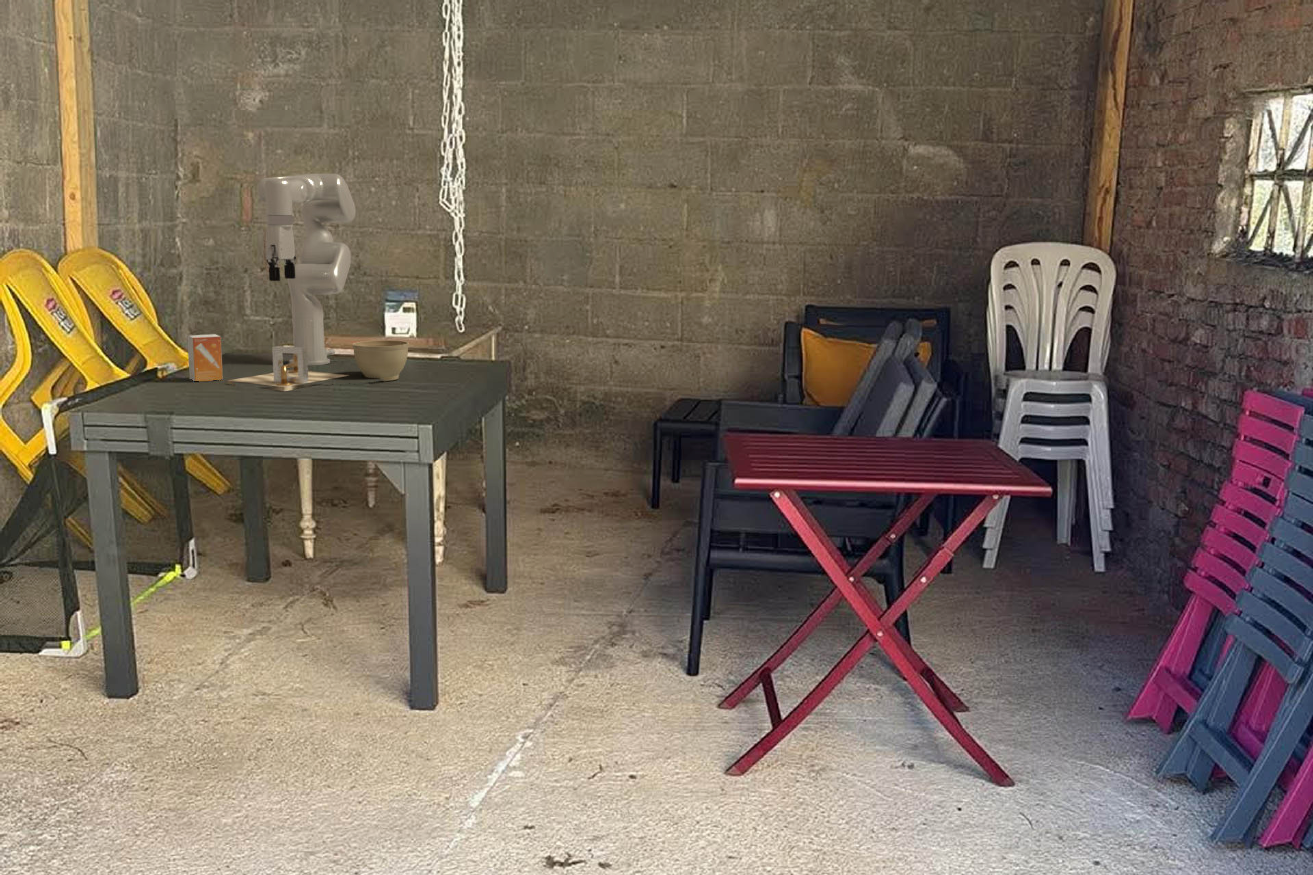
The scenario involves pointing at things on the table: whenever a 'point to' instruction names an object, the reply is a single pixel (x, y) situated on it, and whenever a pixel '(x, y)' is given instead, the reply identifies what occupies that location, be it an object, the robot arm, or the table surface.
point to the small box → (205, 357)
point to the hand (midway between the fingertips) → (282, 279)
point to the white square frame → (302, 363)
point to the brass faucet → (284, 371)
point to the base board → (269, 378)
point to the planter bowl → (381, 358)
